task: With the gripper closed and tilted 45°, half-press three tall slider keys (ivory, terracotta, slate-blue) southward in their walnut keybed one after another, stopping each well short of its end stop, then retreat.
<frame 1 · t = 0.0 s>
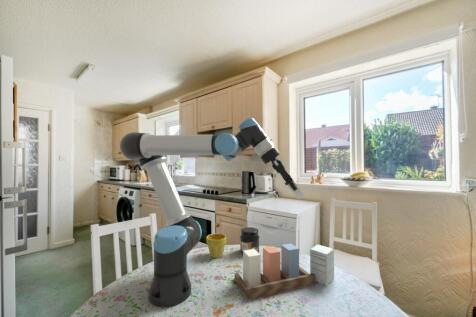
hand: (298, 194, 87), 36 cm above the table, tool tilted 35°, fingers open, 13 cm apart
plant pot: (216, 255, 113), on the table
ivory key: (251, 267, 87), point 6 cm above the table, slide at 0.0 cm
supplement box: (322, 279, 91), on the table
walnut keybed: (273, 281, 88), on the table
terracotta key: (271, 264, 90), point 6 cm above the table, slide at 0.0 cm
supplement container: (249, 252, 117), on the table
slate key: (290, 260, 93), point 6 cm above the table, slide at 0.0 cm
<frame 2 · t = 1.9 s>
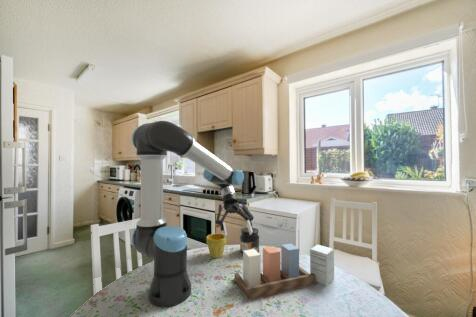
hand: (238, 234, 102), 15 cm above the table, tool tilted 45°, fingers open, 12 cm apart
nothing on the table moved.
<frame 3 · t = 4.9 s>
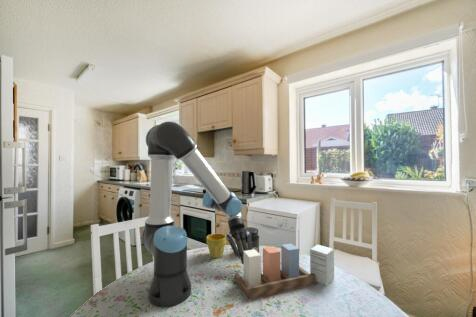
hand: (248, 271, 91), 3 cm above the table, tool tilted 45°, fingers closed
ivory key: (251, 268, 87), point 6 cm above the table, slide at 0.4 cm, touching gripper
everything else where it was.
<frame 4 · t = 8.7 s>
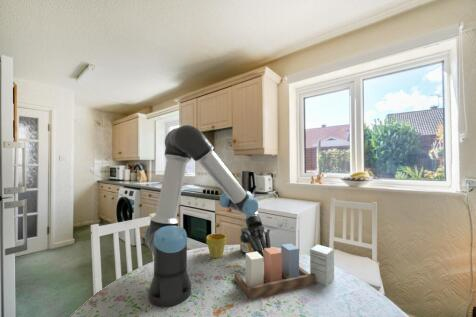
hand: (268, 267, 93), 3 cm above the table, tool tilted 45°, fingers closed
ivory key: (254, 270, 85), point 6 cm above the table, slide at 2.7 cm
terracotta key: (272, 265, 89), point 6 cm above the table, slide at 1.0 cm, touching gripper
everything else where it was.
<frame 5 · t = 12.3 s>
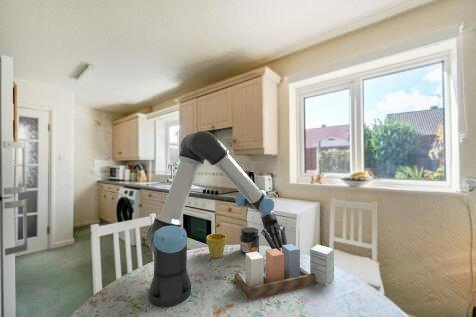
hand: (285, 263, 97), 3 cm above the table, tool tilted 45°, fingers closed
terracotta key: (274, 266, 88), point 6 cm above the table, slide at 2.7 cm
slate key: (290, 261, 93), point 6 cm above the table, slide at 0.6 cm, touching gripper
everything else where it was.
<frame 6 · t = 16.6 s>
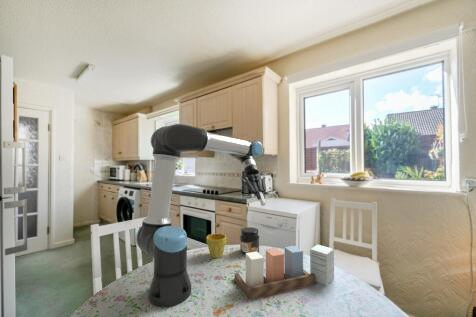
hand: (263, 204, 106), 28 cm above the table, tool tilted 45°, fingers closed
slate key: (293, 263, 91), point 6 cm above the table, slide at 2.6 cm
everything else where it was.
at the end: ivory key slide at 2.7 cm; terracotta key slide at 2.7 cm; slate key slide at 2.6 cm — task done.
